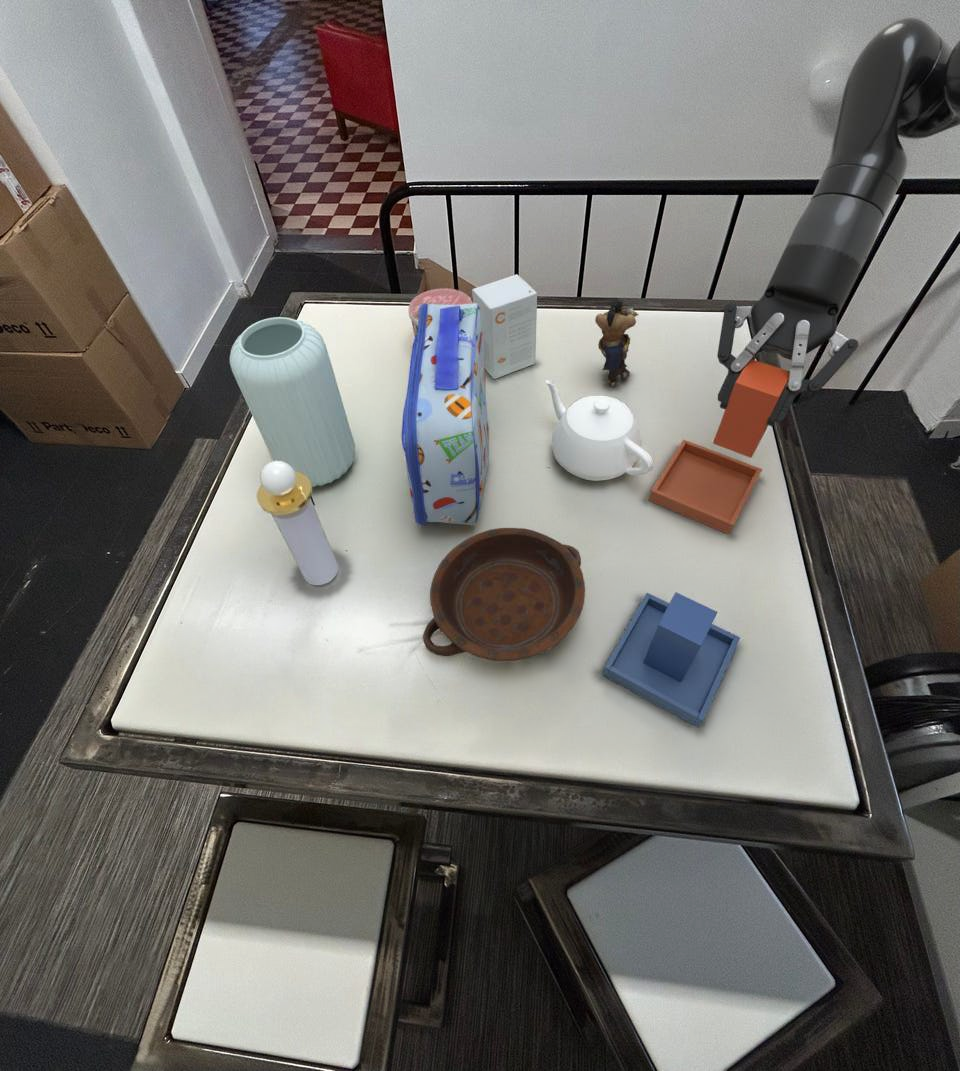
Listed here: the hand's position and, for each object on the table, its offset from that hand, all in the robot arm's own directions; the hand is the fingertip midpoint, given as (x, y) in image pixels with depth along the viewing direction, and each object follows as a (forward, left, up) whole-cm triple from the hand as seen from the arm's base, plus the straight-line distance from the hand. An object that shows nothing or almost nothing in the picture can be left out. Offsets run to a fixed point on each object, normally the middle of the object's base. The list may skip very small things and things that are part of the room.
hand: (746, 415), depth 66 cm
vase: (+51, +19, -18) cm, 57 cm away
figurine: (+23, -19, -18) cm, 35 cm away
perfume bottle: (+38, +33, -18) cm, 54 cm away
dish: (+15, +25, -18) cm, 35 cm away
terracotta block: (0, -2, -5) cm, 5 cm away
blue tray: (-4, +21, -18) cm, 28 cm away
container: (+51, -13, -18) cm, 56 cm away
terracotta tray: (+2, -5, -18) cm, 19 cm away
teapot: (+18, -3, -18) cm, 26 cm away
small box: (+40, -15, -18) cm, 47 cm away
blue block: (-4, +21, -18) cm, 28 cm away
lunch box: (+34, +9, -18) cm, 40 cm away
